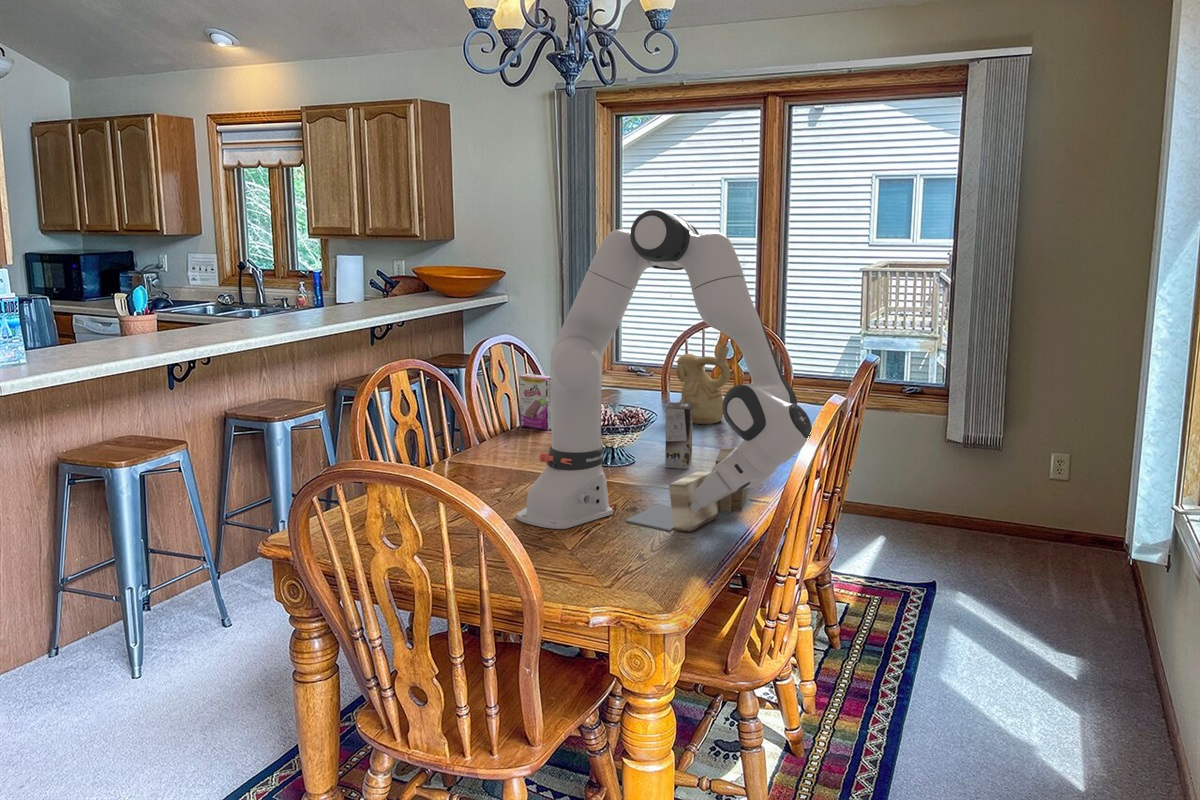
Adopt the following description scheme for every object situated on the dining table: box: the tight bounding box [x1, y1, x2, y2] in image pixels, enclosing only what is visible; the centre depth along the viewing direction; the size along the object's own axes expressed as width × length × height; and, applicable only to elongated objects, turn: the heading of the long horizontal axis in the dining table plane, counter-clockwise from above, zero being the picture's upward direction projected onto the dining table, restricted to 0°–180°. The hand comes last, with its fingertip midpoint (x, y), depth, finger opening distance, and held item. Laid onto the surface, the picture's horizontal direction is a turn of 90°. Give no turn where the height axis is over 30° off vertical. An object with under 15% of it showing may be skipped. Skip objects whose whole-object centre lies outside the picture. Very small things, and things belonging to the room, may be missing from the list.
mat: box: [625, 503, 674, 532], centre depth 202 cm, size 14×11×1 cm
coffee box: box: [664, 401, 693, 470], centre depth 245 cm, size 9×6×16 cm
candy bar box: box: [518, 373, 552, 431], centre depth 289 cm, size 11×5×16 cm, turn 58°
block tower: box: [711, 446, 749, 513], centre depth 219 cm, size 8×8×29 cm
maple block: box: [668, 471, 719, 533], centre depth 197 cm, size 12×4×10 cm, turn 145°
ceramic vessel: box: [675, 345, 731, 425], centre depth 297 cm, size 17×20×25 cm
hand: (704, 503), depth 195 cm, fingers open, 8 cm apart
